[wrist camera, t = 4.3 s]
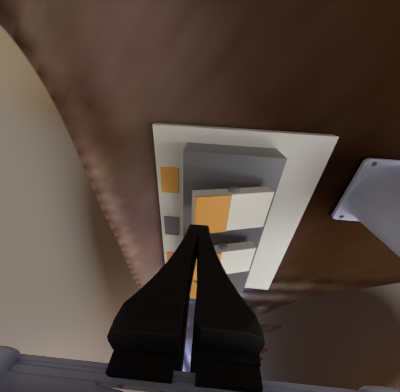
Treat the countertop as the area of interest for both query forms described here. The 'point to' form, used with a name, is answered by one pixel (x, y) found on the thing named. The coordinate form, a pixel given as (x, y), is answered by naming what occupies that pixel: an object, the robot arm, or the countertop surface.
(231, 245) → the rocker
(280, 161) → the switch unit
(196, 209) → the rocker
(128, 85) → the countertop surface
